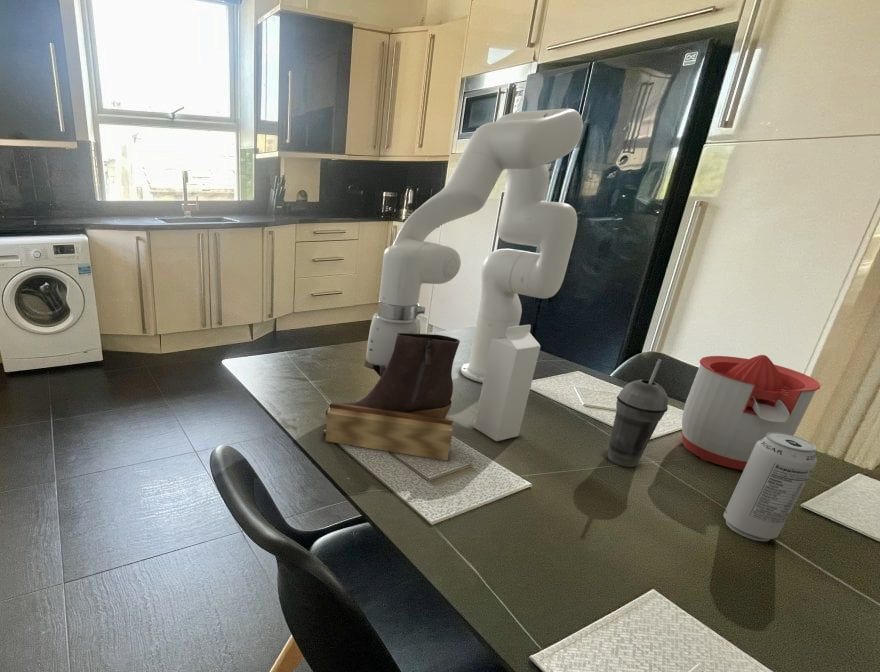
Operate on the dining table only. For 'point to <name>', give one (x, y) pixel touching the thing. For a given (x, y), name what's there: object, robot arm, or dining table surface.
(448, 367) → the boot
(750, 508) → the energy drink can
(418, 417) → the wooden block
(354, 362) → the dining table surface
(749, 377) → the citrus juicer
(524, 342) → the milk
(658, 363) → the beverage cup
